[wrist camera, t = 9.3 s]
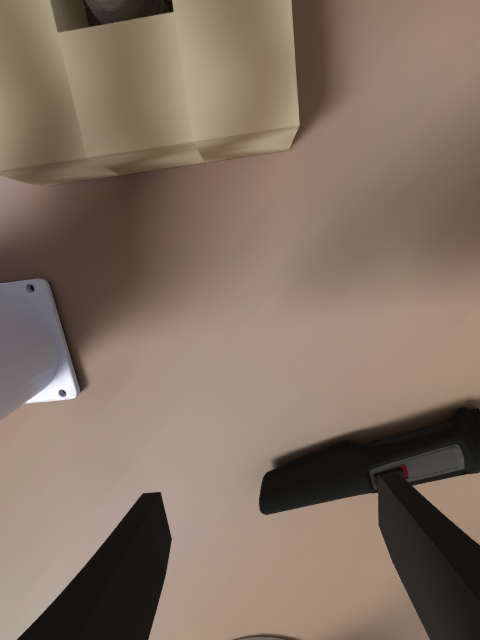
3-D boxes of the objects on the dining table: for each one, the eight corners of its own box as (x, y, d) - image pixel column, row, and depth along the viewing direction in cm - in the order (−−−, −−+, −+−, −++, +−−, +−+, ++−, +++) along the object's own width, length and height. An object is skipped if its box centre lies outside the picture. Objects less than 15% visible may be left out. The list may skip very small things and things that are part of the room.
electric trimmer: (250, 454, 21) (250, 490, 18) (473, 399, 20) (514, 428, 16) (266, 494, 22) (268, 535, 19) (480, 445, 20) (520, 481, 17)
